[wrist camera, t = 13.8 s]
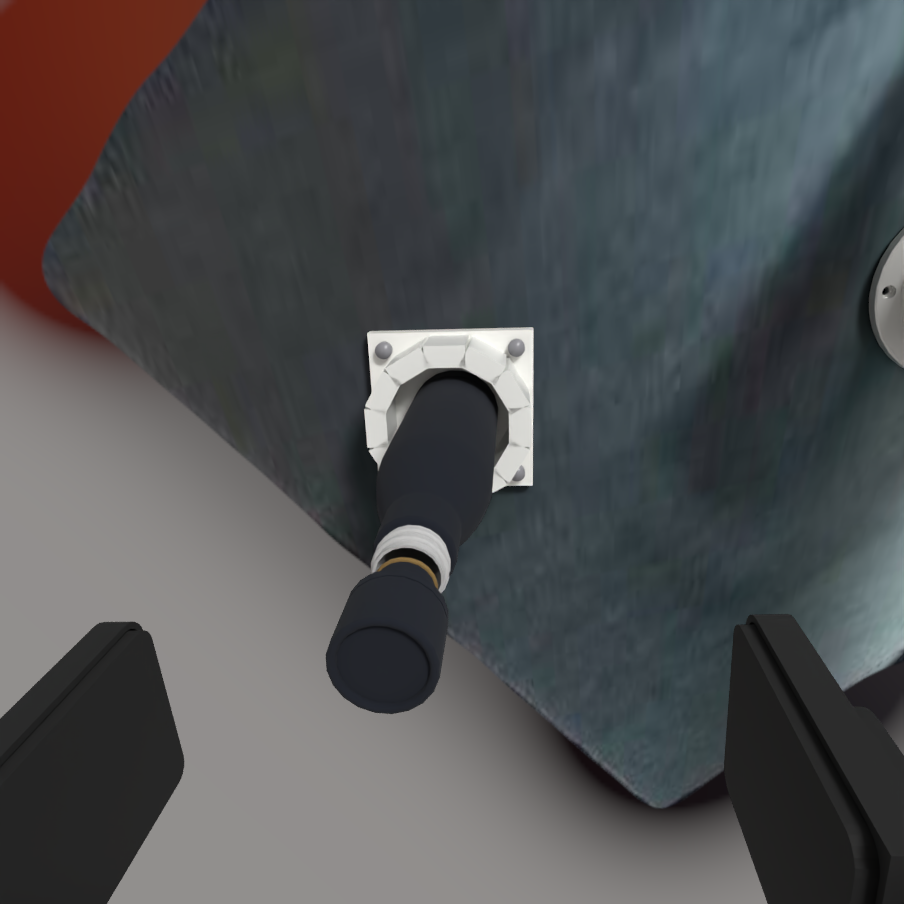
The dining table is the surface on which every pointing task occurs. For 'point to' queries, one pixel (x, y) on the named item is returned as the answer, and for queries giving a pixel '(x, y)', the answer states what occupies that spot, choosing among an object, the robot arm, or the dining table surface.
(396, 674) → the dark blue bottle
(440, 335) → the flange socket
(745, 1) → the dining table surface
